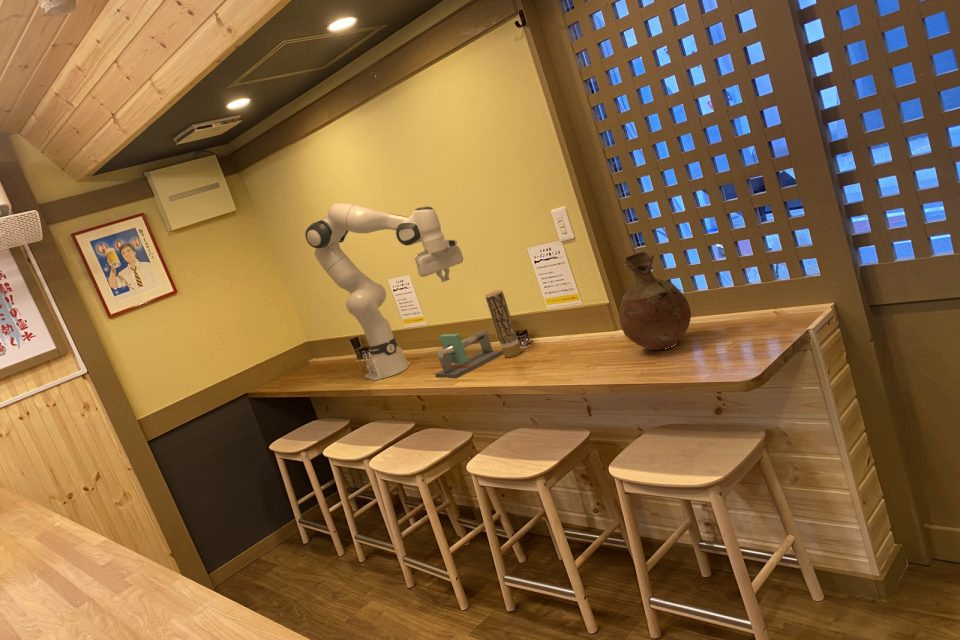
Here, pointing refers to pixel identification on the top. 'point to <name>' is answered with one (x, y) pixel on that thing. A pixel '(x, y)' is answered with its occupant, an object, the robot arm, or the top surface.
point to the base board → (470, 364)
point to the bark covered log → (503, 323)
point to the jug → (652, 307)
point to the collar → (458, 347)
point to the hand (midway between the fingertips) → (445, 280)
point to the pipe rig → (479, 336)
